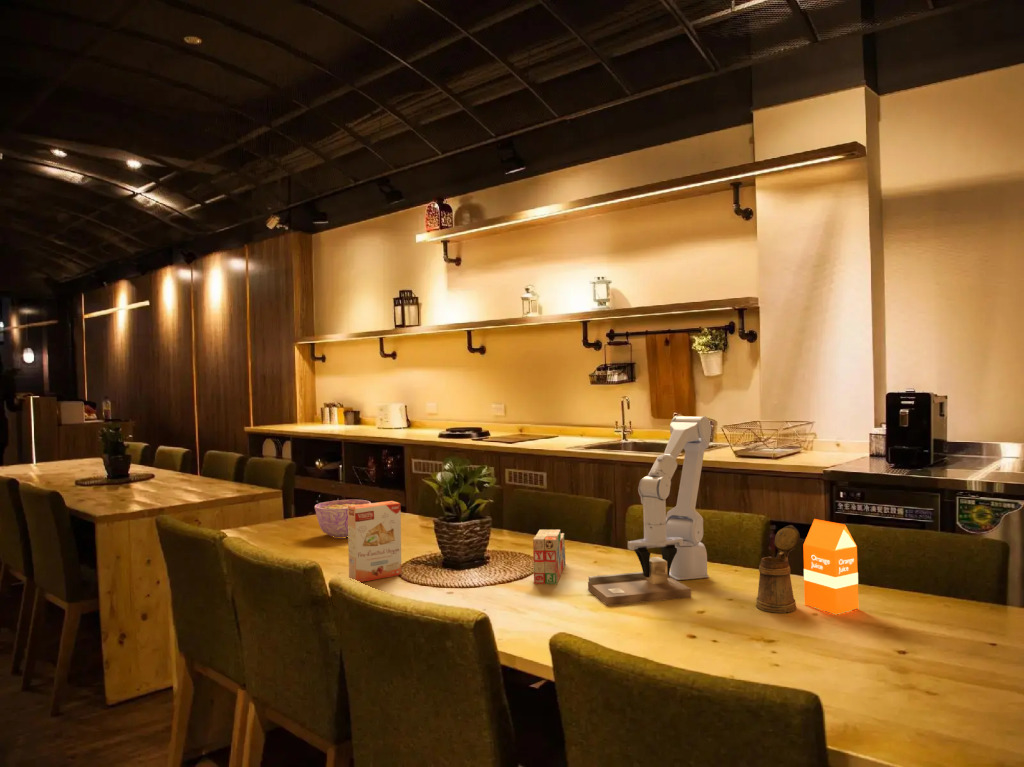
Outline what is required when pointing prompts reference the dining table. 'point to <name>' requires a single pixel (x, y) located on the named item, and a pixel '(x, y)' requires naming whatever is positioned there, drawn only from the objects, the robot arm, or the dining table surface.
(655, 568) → the tan wooden block
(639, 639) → the dining table surface
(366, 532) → the cracker box
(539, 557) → the stack of blocks
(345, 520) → the bowl of food
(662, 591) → the walnut board
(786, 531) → the wooden mug
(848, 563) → the orange juice
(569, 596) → the dining table surface
